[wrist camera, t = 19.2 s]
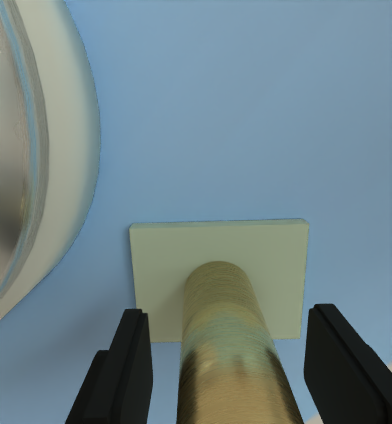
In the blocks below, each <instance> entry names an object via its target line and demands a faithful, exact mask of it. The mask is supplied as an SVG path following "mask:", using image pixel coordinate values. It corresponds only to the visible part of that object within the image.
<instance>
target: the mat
mask: <svg viewBox="0 0 392 424" xmlns="http://www.w3.org/2000/svg"><path fill="white" fill-rule="evenodd" d="M129 233H130V244H131V254H132V265H133V276H134V287H135V298H136V308H137V309H142V312H143V313H148V320H149V332H150V343H154V342H181V338H182V321H183V304H184V288H185V284H186V281H187V279H188V277H189V276H190V274H191V273H192V272H193V271H194V270H195V269H196V268H198V267H199V266H201V265H203V264H205V263H208V262H213V261H225V262H229V263H232V264H235V265H236V266H238V267H240V268H241V269H242V270H243V271H244V272H245V273H246V274H247V276H248V278H249V280H250V282H251V285H252V287H253V290H254V293H255V295H256V298H257V301H258V303H259V306H260V309H261V311H262V314H263V316H264V319H265V322H266V324H267V327H268V330H269V332H270V335H271V338H272V339H300V332H301V320H302V307H303V295H304V282H305V270H306V258H307V245H308V233H309V223H307V222H306V221H305V220H303V219H280V220H242V221H205V222H168V223H133V224H132V225H131V227H130V228H129Z"/></svg>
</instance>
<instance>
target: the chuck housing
mask: <svg viewBox="0 0 392 424" xmlns="http://www.w3.org/2000/svg"><path fill="white" fill-rule="evenodd" d="M15 2H16V4H17V6H18V9H19V12H20V14H21V17H22V20H23V23H24V26H25V29H26V31H27V34H28V37H29V40H30V43H31V46H32V48H33V51H34V54H35V58H36V63H37V67H38V71H39V76H40V80H41V84H42V89H43V93H44V97H45V104H46V114H47V123H48V132H49V181H48V187H47V194H46V200H45V206H44V212H43V217H42V220H41V223H40V226H39V230H38V233H37V236H36V239H35V242H34V246H33V248H32V250H31V252H30V254H29V256H28V258H27V260H26V262H25V264H24V266H23V268H22V270H21V272H20V274H19V276H18V277H17V278H16V280H15V281H14V283H13V284H12V285H11V287H10V288H9V290H8V291H7V292H6V294H5V295H4V297H3V298H2V299H1V300H0V320H1V319H2V318H3V317H4V316H5V315H6V314H7V313H8V312H9V311H10V310H11V309H12V308H13V307H14V306H15V305H16V304H17V303H18V302H19V301H20V300H22V299H23V298H24V297H25V296H26V295H27V294H28V293H29V292H30V291H31V290H32V289H33V288H34V287H35V286H36V285H37V284H38V283H39V282H40V281H41V280H42V279H43V278H44V277H45V276H46V275H47V274H48V273H49V272H51V271H52V270H53V269H54V268H55V267H56V266H57V264H58V263H59V262H60V260H61V259H62V258H63V257H64V255H65V254H66V253H67V251H68V250H69V249H70V247H71V246H72V244H73V242H74V241H75V239H76V237H77V235H78V233H79V232H80V230H81V228H82V226H83V224H84V221H85V219H86V216H87V213H88V211H89V208H90V205H91V203H92V200H93V196H94V191H95V187H96V182H97V178H98V173H99V161H100V149H101V135H100V113H99V107H98V101H97V95H96V89H95V83H94V78H93V75H92V71H91V68H90V64H89V61H88V58H87V54H86V51H85V47H84V44H83V42H82V39H81V37H80V35H79V32H78V30H77V28H76V25H75V23H74V21H73V18H72V16H71V13H70V11H69V9H68V7H67V5H66V3H65V2H64V0H15Z"/></svg>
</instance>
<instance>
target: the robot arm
mask: <svg viewBox="0 0 392 424" xmlns="http://www.w3.org/2000/svg"><path fill="white" fill-rule="evenodd" d="M304 379H305V382H306V385H307V387H308V390H309V392H310V394H311V396H312V399H313V401H314V403H315V405H316V408H317V410H318V412H319V414H320V417H321V419H322V421H323V423H324V424H392V372H391V371H390V370H389V369H388V367H387V366H386V365H385V364H384V363H383V361H382V360H381V359H380V358H379V357H378V355H377V354H376V353H375V352H374V350H373V349H372V348H371V347H370V346H369V345H367V344H366V343H365V342H364V341H363V340H362V338H361V337H360V336H359V335H358V333H357V332H356V331H355V330H354V329H353V327H352V326H351V325H350V324H349V322H348V321H347V320H346V319H345V317H344V316H343V315H342V314H341V313H340V311H339V310H338V309H337V308H336V306H335V305H334V304H315V305H314V308H311V309H310V310H309V315H308V327H307V338H306V350H305V361H304ZM152 387H153V369H152V357H151V345H150V332H149V320H148V313H143V312H142V309H125V311H124V313H123V316H122V318H121V321H120V323H119V326H118V328H117V331H116V333H115V336H114V338H113V341H112V344H111V346H110V349H109V350H99V351H98V352H97V353H96V355H95V357H94V359H93V361H92V364H91V366H90V368H89V370H88V373H87V375H86V377H85V379H84V382H83V384H82V386H81V388H80V391H79V393H78V395H77V397H76V400H75V402H74V404H73V406H72V409H71V411H70V413H69V415H68V418H67V420H66V422H65V424H147V417H148V411H149V405H150V399H151V393H152Z"/></svg>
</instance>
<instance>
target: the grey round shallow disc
mask: <svg viewBox="0 0 392 424" xmlns="http://www.w3.org/2000/svg"><path fill="white" fill-rule="evenodd" d="M48 181H49V132H48V123H47V114H46V104H45V97H44V93H43V89H42V84H41V80H40V76H39V71H38V67H37V63H36V58H35V54H34V51H33V48H32V46H31V43H30V40H29V37H28V34H27V31H26V29H25V26H24V23H23V20H22V17H21V14H20V12H19V9H18V6H17V4H16V2H15V0H0V300H1V299H2V298H3V297H4V295H5V294H6V292H7V291H8V290H9V288H10V287H11V285H12V284H13V283H14V281H15V280H16V278H17V277H18V276H19V274H20V272H21V270H22V268H23V266H24V264H25V262H26V260H27V258H28V256H29V254H30V252H31V250H32V248H33V246H34V242H35V239H36V236H37V233H38V230H39V226H40V223H41V220H42V217H43V212H44V206H45V200H46V194H47V187H48Z"/></svg>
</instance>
